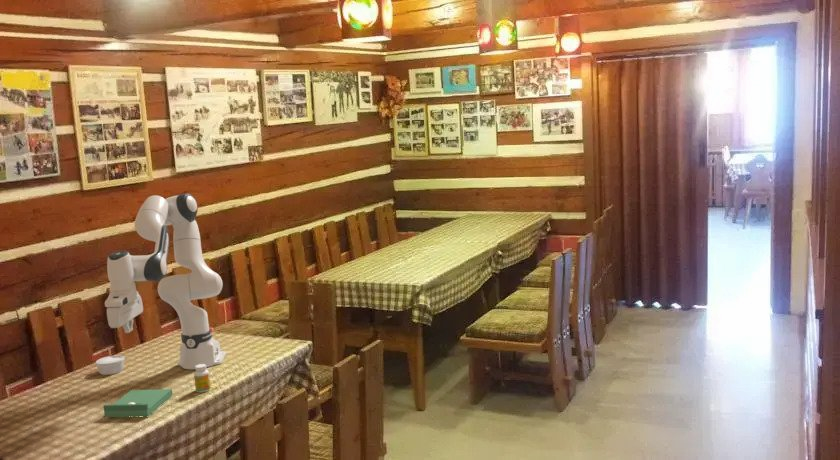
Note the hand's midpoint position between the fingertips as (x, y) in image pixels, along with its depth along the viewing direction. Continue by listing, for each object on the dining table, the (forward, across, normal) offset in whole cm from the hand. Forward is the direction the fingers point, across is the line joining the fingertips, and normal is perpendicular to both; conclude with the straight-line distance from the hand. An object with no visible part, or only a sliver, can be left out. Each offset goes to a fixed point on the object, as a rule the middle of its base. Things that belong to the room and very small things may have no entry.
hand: (128, 331), depth 281 cm
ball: (+23, +14, +5) cm, 28 cm away
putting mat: (+26, +9, +5) cm, 27 cm away
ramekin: (+28, -31, -26) cm, 49 cm away
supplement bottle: (+26, -6, +23) cm, 35 cm away
